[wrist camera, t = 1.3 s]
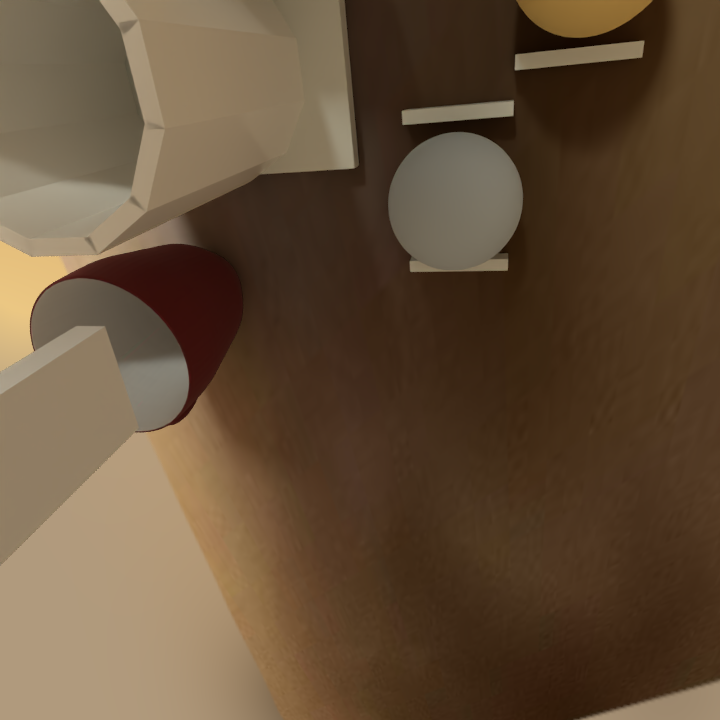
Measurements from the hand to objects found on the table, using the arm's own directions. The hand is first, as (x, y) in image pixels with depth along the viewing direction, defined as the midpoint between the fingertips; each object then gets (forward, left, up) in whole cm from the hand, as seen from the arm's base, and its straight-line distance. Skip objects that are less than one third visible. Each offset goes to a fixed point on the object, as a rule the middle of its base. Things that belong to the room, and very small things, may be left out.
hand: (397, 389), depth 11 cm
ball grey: (0, 0, -19) cm, 19 cm away
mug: (+6, -15, -19) cm, 25 cm away
